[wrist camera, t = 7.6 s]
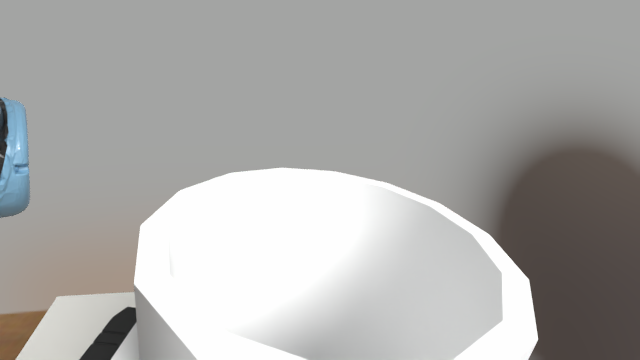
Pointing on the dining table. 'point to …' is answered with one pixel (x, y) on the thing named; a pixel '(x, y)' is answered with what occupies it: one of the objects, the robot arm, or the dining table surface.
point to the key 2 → (73, 325)
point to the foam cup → (323, 275)
